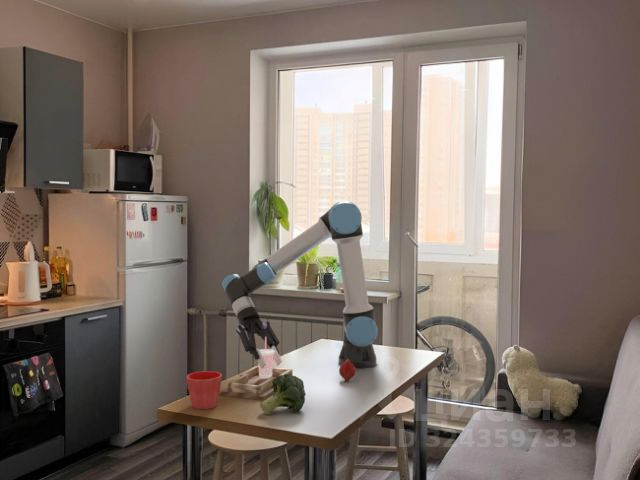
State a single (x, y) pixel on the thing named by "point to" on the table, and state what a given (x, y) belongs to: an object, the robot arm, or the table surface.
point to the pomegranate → (347, 370)
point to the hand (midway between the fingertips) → (271, 364)
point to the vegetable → (285, 394)
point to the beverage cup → (268, 358)
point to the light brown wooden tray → (253, 384)
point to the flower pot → (204, 389)
